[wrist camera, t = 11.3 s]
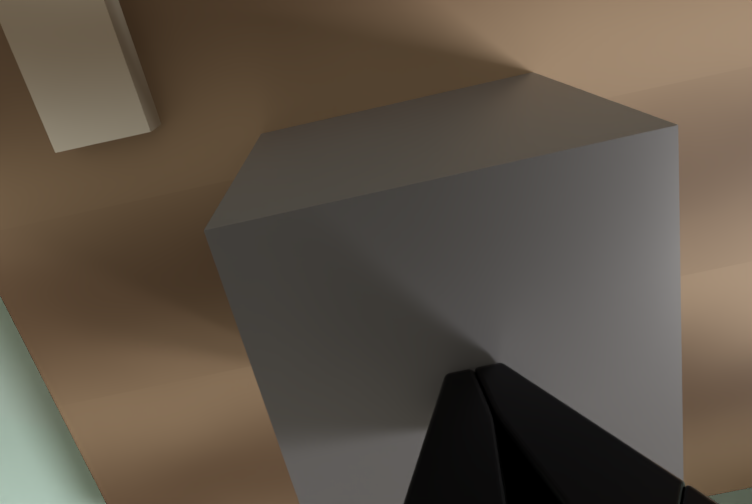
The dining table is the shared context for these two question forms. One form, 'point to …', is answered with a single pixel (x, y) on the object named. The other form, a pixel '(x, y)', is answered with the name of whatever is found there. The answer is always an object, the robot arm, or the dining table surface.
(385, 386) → the grey rectangular block
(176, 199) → the brown wooden flat slab
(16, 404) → the dining table surface
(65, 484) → the dining table surface
